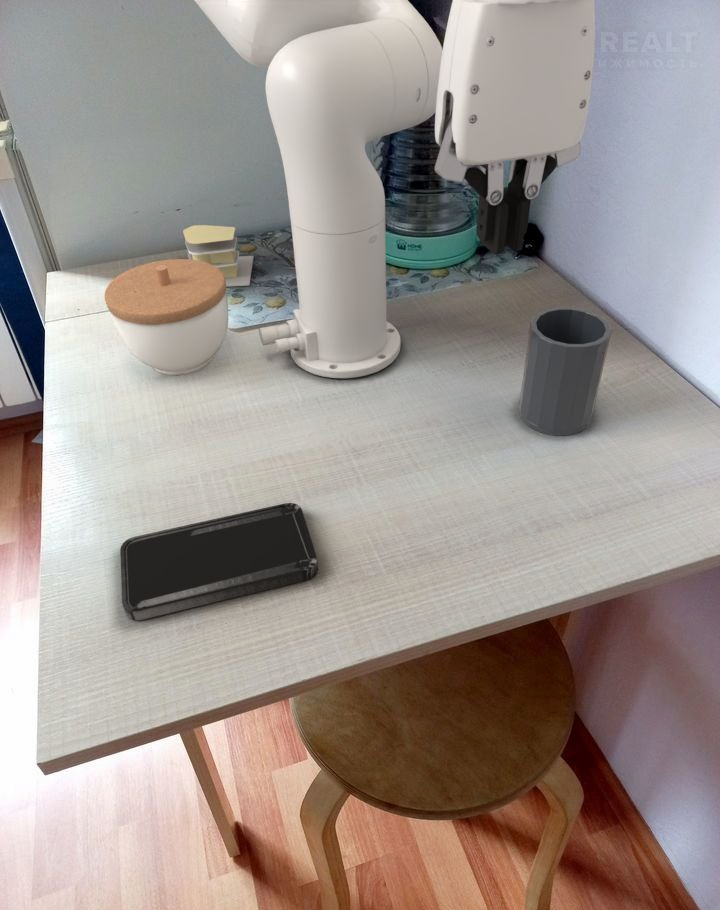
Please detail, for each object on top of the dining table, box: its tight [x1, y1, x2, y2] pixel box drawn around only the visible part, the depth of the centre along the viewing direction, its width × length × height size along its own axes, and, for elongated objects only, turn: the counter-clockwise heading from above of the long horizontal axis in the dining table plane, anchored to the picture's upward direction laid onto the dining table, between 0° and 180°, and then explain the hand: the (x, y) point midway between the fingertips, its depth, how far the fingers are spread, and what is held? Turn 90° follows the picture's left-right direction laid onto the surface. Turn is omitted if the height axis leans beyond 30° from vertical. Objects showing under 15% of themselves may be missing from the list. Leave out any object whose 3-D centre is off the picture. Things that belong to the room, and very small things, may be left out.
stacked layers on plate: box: [182, 224, 254, 288], centre depth 95 cm, size 10×9×6 cm
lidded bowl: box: [104, 258, 229, 376], centre depth 77 cm, size 13×13×11 cm
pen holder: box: [518, 306, 612, 437], centre depth 67 cm, size 7×7×10 cm
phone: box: [119, 502, 319, 621], centre depth 57 cm, size 8×1×15 cm
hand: (500, 244), depth 56 cm, fingers closed
